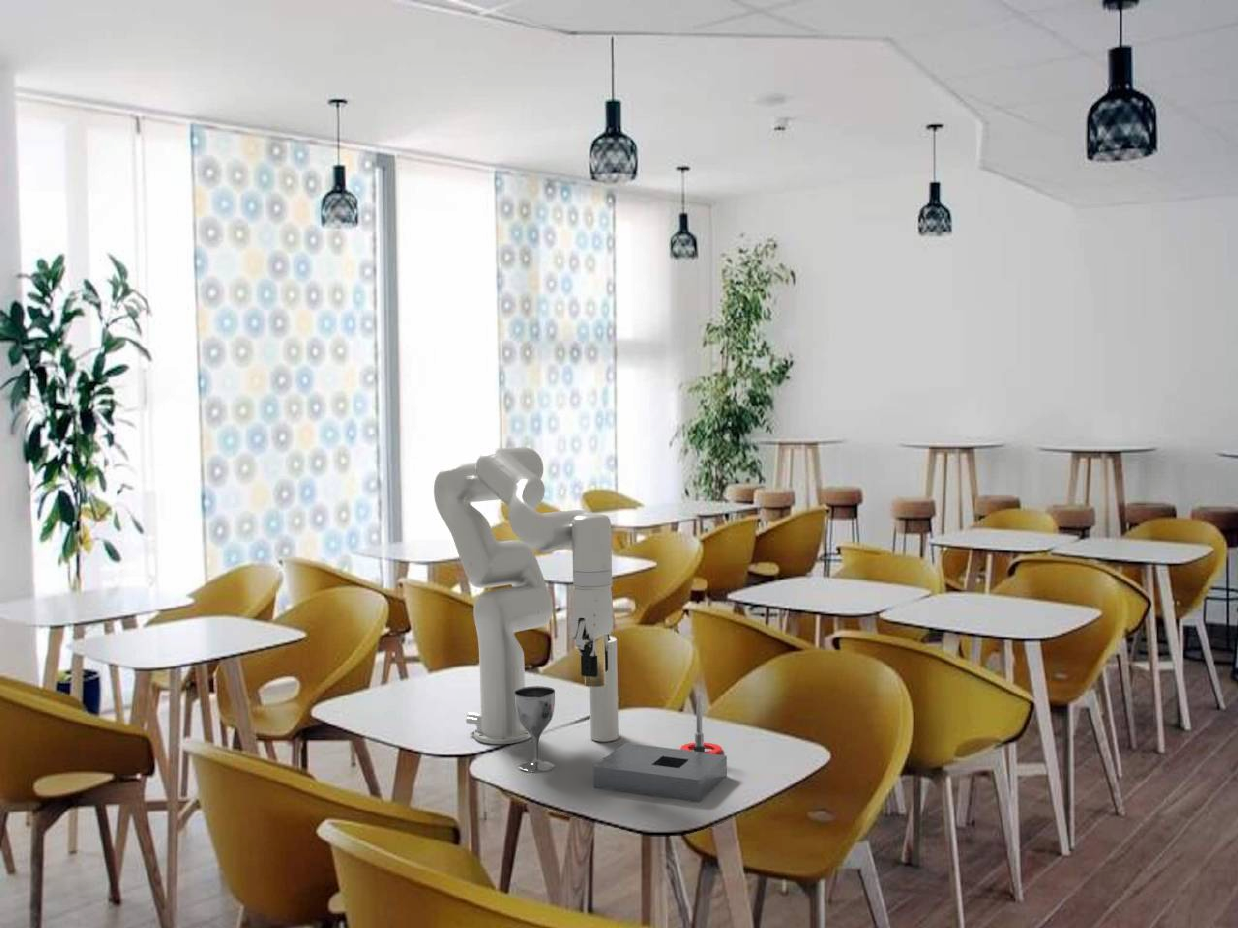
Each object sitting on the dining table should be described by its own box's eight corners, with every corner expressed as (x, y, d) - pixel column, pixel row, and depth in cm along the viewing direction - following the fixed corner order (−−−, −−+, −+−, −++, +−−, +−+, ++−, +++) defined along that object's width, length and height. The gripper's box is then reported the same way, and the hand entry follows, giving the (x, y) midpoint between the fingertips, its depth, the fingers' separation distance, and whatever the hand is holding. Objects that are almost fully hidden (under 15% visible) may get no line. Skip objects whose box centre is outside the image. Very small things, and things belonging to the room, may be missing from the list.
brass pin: (581, 685, 226) (579, 629, 226) (590, 680, 230) (589, 624, 229) (600, 687, 225) (598, 630, 224) (609, 682, 228) (607, 626, 227)
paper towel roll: (602, 744, 245) (600, 642, 244) (584, 737, 250) (582, 638, 248) (628, 737, 250) (627, 637, 248) (611, 731, 254) (609, 633, 253)
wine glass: (562, 761, 234) (561, 687, 233) (547, 774, 227) (545, 698, 226) (525, 758, 237) (524, 684, 236) (509, 771, 229) (507, 695, 228)
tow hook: (682, 747, 244) (678, 759, 235) (682, 685, 244) (677, 694, 235) (723, 748, 243) (720, 761, 234) (723, 686, 242) (720, 696, 233)
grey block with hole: (593, 787, 219) (592, 766, 219) (626, 762, 233) (625, 742, 233) (699, 802, 211) (699, 780, 211) (726, 775, 224) (726, 755, 224)
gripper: (594, 571, 235) (596, 662, 236) (554, 584, 220) (557, 681, 221) (628, 573, 232) (630, 665, 233) (591, 587, 217) (593, 685, 218)
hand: (594, 672), depth 227 cm, fingers closed on brass pin, 3 cm apart
